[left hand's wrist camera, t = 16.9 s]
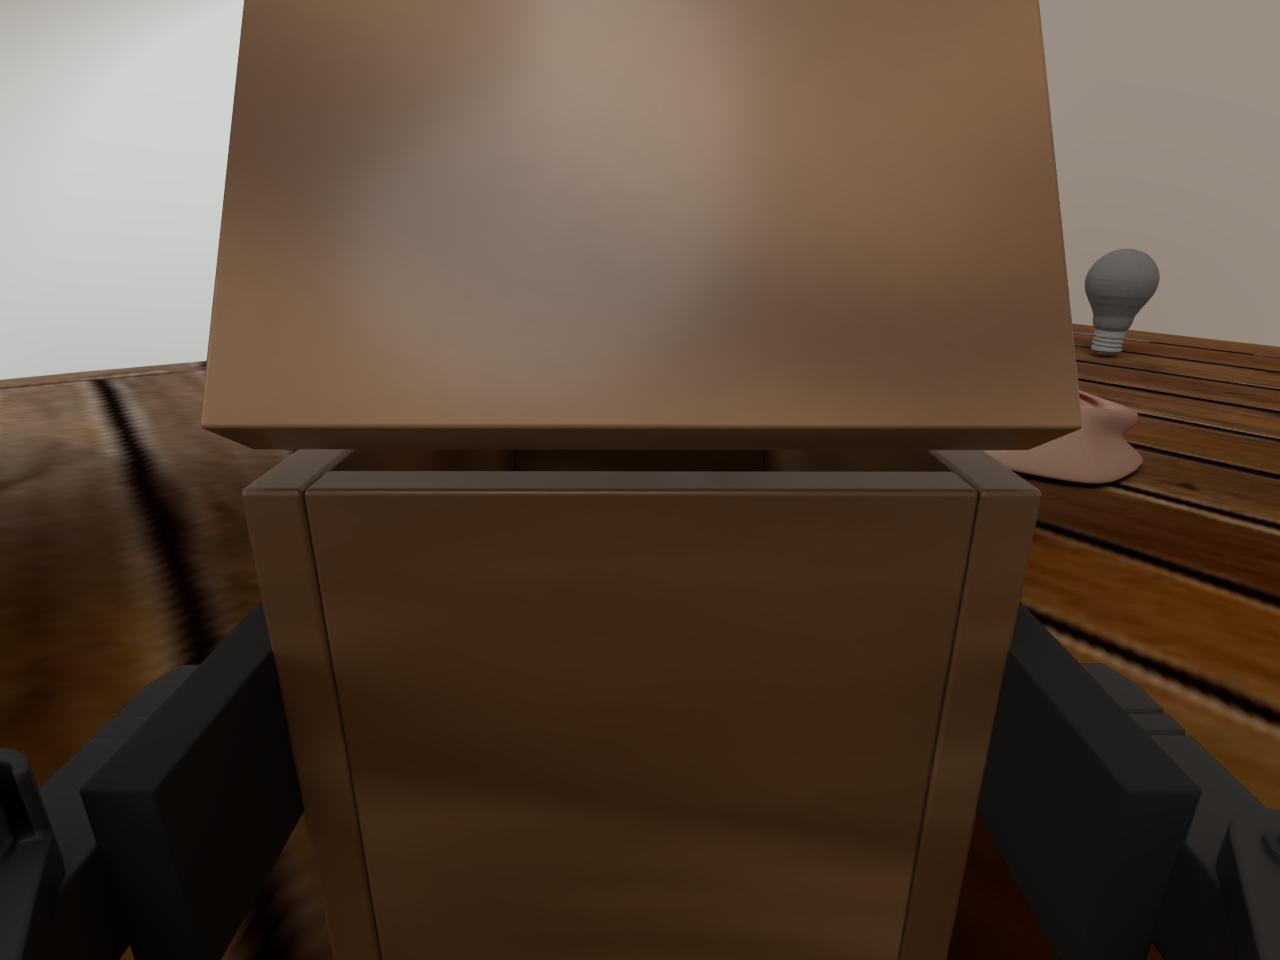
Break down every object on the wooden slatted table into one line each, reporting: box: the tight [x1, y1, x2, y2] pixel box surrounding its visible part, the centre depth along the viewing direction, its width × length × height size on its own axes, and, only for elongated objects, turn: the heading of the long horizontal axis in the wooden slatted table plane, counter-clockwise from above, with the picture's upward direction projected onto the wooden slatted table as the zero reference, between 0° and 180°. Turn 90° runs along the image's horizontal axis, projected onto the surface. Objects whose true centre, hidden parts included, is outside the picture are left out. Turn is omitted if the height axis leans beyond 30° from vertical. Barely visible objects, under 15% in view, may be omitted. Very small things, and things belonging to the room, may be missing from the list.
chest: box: [241, 449, 1041, 960], centre depth 18 cm, size 15×10×11 cm, turn 0°
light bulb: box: [1085, 249, 1160, 355], centre depth 71 cm, size 6×6×10 cm
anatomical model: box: [983, 390, 1143, 484], centre depth 44 cm, size 13×4×12 cm
